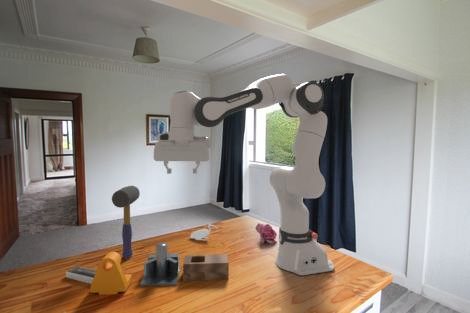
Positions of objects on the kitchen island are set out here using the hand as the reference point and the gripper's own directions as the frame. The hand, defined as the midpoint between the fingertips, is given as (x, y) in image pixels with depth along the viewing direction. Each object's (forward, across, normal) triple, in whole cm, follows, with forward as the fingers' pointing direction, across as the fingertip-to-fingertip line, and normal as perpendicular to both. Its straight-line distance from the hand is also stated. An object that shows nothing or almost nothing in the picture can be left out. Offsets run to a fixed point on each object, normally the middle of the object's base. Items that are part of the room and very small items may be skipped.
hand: (182, 173), depth 96 cm
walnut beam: (+37, -9, +4) cm, 38 cm away
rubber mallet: (+37, +24, -12) cm, 46 cm away
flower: (+37, -38, -28) cm, 60 cm away
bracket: (+38, +22, +10) cm, 45 cm away
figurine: (+38, -7, -29) cm, 48 cm away
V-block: (+37, +7, +4) cm, 38 cm away
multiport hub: (+38, +34, +2) cm, 51 cm away
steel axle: (+36, +7, +4) cm, 37 cm away
